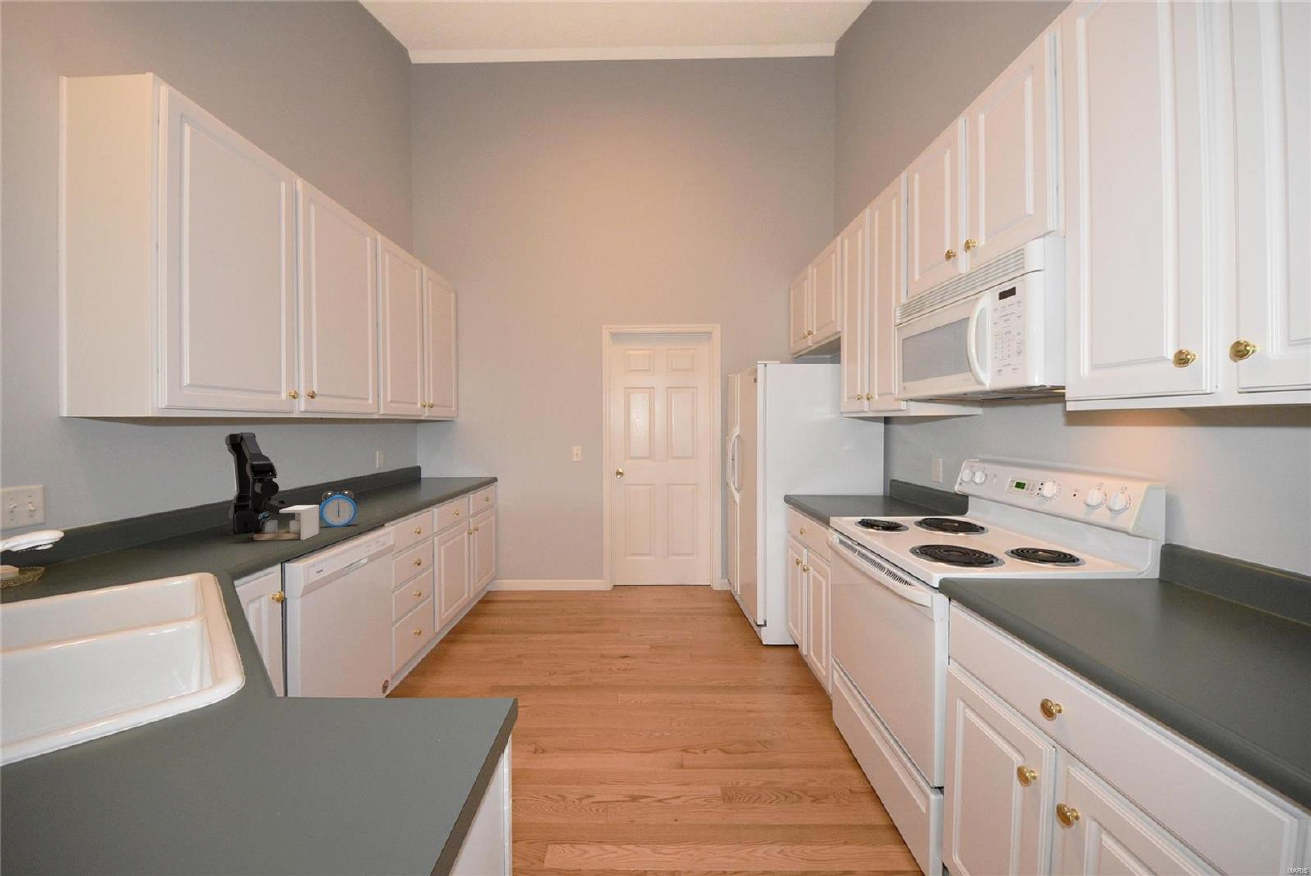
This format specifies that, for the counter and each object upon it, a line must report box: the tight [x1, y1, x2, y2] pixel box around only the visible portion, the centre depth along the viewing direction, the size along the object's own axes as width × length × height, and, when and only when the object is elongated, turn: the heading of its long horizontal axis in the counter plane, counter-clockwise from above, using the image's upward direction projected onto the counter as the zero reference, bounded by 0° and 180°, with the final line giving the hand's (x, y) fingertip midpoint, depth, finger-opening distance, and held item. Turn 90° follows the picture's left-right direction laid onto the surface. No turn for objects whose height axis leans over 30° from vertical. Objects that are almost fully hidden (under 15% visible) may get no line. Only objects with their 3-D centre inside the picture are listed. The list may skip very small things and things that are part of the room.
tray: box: [253, 529, 301, 541], centre depth 199 cm, size 15×9×2 cm, turn 99°
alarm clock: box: [319, 490, 358, 528], centre depth 223 cm, size 13×6×15 cm, turn 126°
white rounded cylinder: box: [289, 519, 301, 534], centre depth 199 cm, size 4×4×6 cm
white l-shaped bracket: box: [279, 504, 320, 541], centre depth 200 cm, size 8×12×12 cm, turn 10°
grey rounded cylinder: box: [263, 519, 279, 534], centre depth 198 cm, size 4×4×6 cm
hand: (257, 535), depth 197 cm, fingers closed, pressing on tray
